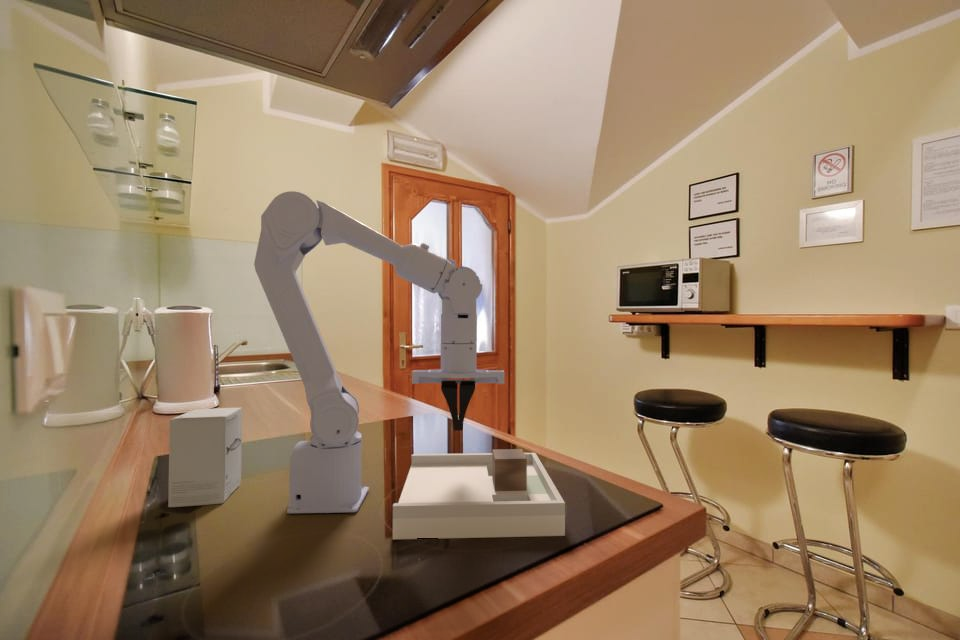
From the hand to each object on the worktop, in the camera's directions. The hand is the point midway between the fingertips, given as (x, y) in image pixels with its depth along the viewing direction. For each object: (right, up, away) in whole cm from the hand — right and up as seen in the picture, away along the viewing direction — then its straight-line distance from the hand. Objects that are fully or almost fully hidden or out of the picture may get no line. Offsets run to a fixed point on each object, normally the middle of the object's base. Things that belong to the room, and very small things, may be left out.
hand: (458, 429), depth 65 cm
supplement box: (-38, -10, -3) cm, 39 cm away
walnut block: (+8, -7, -5) cm, 11 cm away
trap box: (+3, -9, -5) cm, 11 cm away
